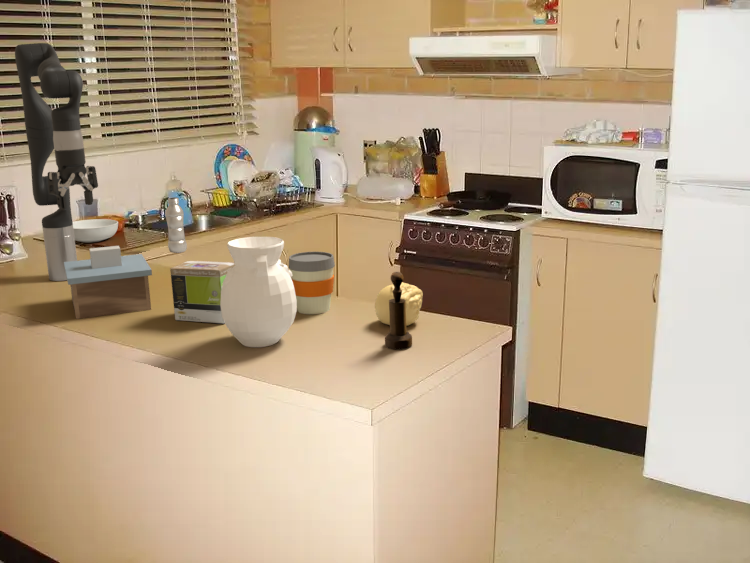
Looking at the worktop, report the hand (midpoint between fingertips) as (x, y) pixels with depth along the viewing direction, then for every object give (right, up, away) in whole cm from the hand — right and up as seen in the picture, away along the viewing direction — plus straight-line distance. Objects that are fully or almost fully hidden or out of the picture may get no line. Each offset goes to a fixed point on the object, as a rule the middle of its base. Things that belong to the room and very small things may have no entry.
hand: (76, 207), depth 233 cm
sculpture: (+88, -31, -12) cm, 94 cm away
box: (+6, -27, +12) cm, 30 cm away
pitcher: (+54, -35, -23) cm, 68 cm away
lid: (+6, -17, +9) cm, 20 cm away
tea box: (+36, -30, -2) cm, 47 cm away
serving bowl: (-30, -4, +104) cm, 108 cm away
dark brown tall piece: (+87, -36, -29) cm, 99 cm away
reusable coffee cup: (+65, -28, +2) cm, 71 cm away
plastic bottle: (+10, -10, +77) cm, 78 cm away
